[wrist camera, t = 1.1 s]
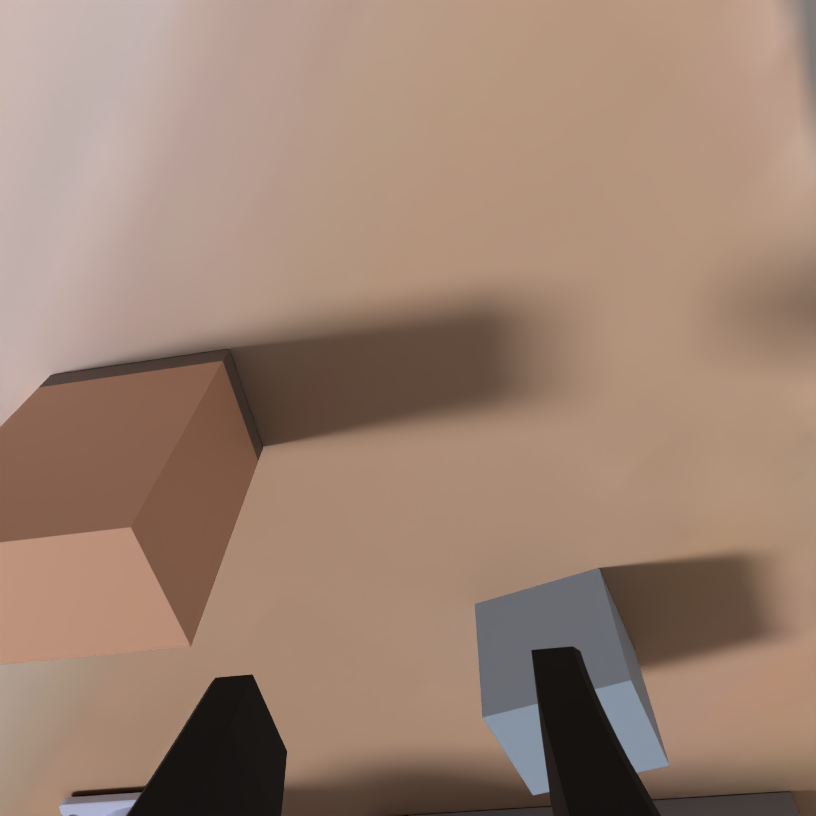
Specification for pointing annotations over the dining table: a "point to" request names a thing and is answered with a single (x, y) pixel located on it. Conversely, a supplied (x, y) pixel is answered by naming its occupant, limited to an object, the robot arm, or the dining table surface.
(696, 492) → the dining table surface
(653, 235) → the dining table surface
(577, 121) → the dining table surface
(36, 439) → the tan cuboid
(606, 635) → the slate block
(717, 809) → the glasses tray
